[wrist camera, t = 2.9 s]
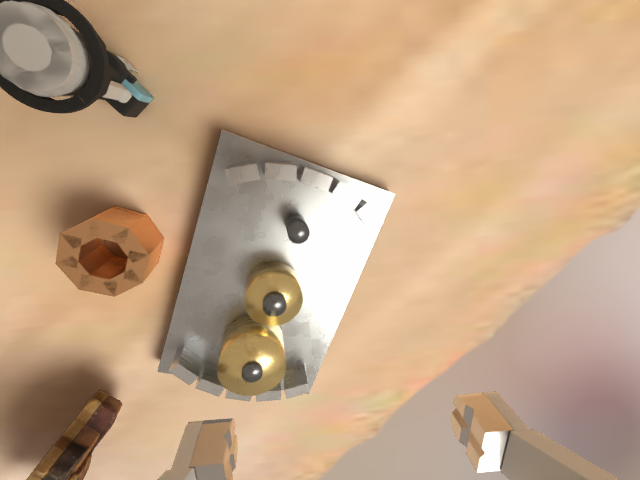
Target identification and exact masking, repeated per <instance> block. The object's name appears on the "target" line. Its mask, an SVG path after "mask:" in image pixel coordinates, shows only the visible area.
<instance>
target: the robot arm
mask: <svg viewBox="0 0 640 480" xmlns="http://www.w3.org/2000/svg"><path fill="white" fill-rule="evenodd" d="M454 405H455V406H456V409H455V410H454V411H453V412H452V418H451V420H452V426H453V430H454V433H455V435H456V437H457V439H458V440H459V442H460V443H462V444H463V445H465V446H466V447H467V448H466V454H467V456H468V458H469V459H470V461H471V463H472V465H473V466H474V468H475V470H476V472H489V471H499V470H501V473H503V474H504V475H505V476H506V477H507V478H508V479H510V480H618V479H617V478H616V477H615V476H613V475H611V474H609V473H608V472H606V471H604V470H602V469H601V468H599V467H597V466H596V465H594V464H592V463H591V462H589V461H587V460H585V459H584V458H582V457H580V456H579V455H577V454H575V453H573V452H572V451H570V450H568V449H567V448H565V447H563V446H562V445H560V444H558V443H556V442H555V441H553V440H551V439H549V438H548V437H546V436H544V435H543V434H541V433H539V432H537V431H536V430H534V429H528V428H527V427H526V425H525V424H524V423H523V422H522V421H521V419H520V418H519V417H518V416H517V415H516V413H515V412H514V411H513V410H512V409H511V407H510V406H509V405H508V404H507V403H506V402H505V400H504V399H503V398H502V397H501V396H500V394H499V393H497V392H496V391H493V392H484V393H474V394H465V395H457V396H456V397H455V398H454ZM234 430H235V422H234V419H233V418H232V419H219V420H205V421H195V422H189V423H188V424H187V426H186V428H185V431H184V434H183V436H182V439H181V442H180V445H179V448H178V451H177V454H176V457H175V459H174V462H173V465H172V468H171V470H168V471H165V472H164V473H163V475H162V476H161V477H160V478H159V479H158V480H233V475H232V471H233V470H234V469H235V468H236V460H237V436H236V435H235V434H234Z"/></svg>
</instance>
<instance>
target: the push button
mask: <svg viewBox="0 0 640 480" xmlns="http://www.w3.org/2000/svg"><path fill="white" fill-rule="evenodd" d="M57 14H58V15H62V16H65V17H66V18H67V19H68V20H69V21H71V22H72V23H73V25H74V26H75V27H76V28H77V29H78V31H79V32H78V31H76V30H75V29H73V28H71V27H70V26H69V24H68V23H67V22H66V21H65V20H63V19H62V18H61V17H59V16H58V15H57ZM130 70H133V71H135V72H137V73H138V71H137V70H136V69H135V68H134V67H133V66H132V65H131V64H130V63H129V62H128V61H127V60H126V59H124V58H122V57H120V56H118V55H117V56H115V55H114V54H112V53H111V52H109V51H107V50H106V46H105V44H104V42H103V41H102V39H101V38H100V37H99V35H98V34H97V33H96V31H95V30H94V28H93V27H92V25H91V24H90V23H89V21H88V20H87V19H86V18H85V17H84V16H83V15H82V14H81V13H80V12H79V11H78V10H77V9H75V8H74V7H73V6H72V5H70V4H69V3H67V2H66V1H64V0H0V87H1V88H2V89H3V90H4V91H6V92H7V93H8V94H9V95H11V96H12V97H13V98H15V99H16V100H18V101H20V102H21V103H23V104H25V105H27V106H30V107H32V108H34V109H38V110H41V111H45V112H52V113H72V112H76V111H80V110H82V109H84V108H86V107H88V106H90V105H91V104H92V103H93V102H95V101H96V100H98V99H102V100H106V101H107V102H108V103H109V104H110V105H111V106H113V107H114V108H115V109H116V110H117V111H118V112H119V113H120V114H122V115H123V116H128V117H137V116H138V115H139V114H140V113H141V112H142V111H143V109H144V108H145V107H146V106H147V105H148V104H149V103H150V102H151V101H152V100H153V99H154V97H153V96H152V95H151V94H150V93H149V92H148V91H146V90H145V89H144V88H143V87H142V86H141V85H140V84H139V83H138V82H137V79H136V78H135V77H134V76H133V75H132V74H131V73H130V72H129V71H130ZM59 96H71V98H68V99H65V100H54V99H52V98H50V97H59Z"/></svg>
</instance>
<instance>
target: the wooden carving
mask: <svg viewBox="0 0 640 480" xmlns="http://www.w3.org/2000/svg"><path fill="white" fill-rule="evenodd" d="M121 406H122V403H121V402H120V400H117V399H115V398H113V397H111V396H109V394H107V393H105V392H104V391H102V390H98V392H97V393H96V394H95V395H94V396H93V398H92V399H91V400H89V401H88V403H87V404H86V405H85V406H84V408H83V409H82V410H81V412H80V413H79V414H78V416H77V417H76V418H75V420H74V421H73V422H72V423H71V425H70V426H69V427H68V428H67V430H66V431H65V432H64V433H63V435H62V436H61V437H60V438H59V439H58V441H57V442H56V443H55V444H54V445H53V447H52V448H51V449H50V450H49V452H48V453H47V454H46V455H45V456H44V458H43V459H42V460H41V461H40V463H39V464H38V465H37V466H36V468H35V469H34V470H33V472H32V473H31V474H30V476H29V477H28V478H27V479H26V480H83V479H84V477H85V475H86V473H87V470H88V468H89V465H90V462H91V456H92V452H93V450H94V448H95V447H96V446H97V444H98V443H99V442H100V440H101V439H102V438H103V437H104V435H105V434H106V433H107V432H108V430H109V429H110V428H111V426H112V425H113V423H114V421H115V419H116V416H117V414H118V413H119V411H120V408H121Z"/></svg>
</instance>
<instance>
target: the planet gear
mask: <svg viewBox="0 0 640 480" xmlns="http://www.w3.org/2000/svg"><path fill="white" fill-rule="evenodd" d="M104 240H108V241H112V242H116V243H117V244H118V245H119V246H120V247H121V249H122V250H123V251H124V253H125V254H126V255H127V256H128V259H125V258H121V257H116V256H113V255H112V253H111V252H110V251H109V250H108V248H107V247H106V246H105V245H104ZM163 241H164V237H163V236H162V235H161V233H160V232H159V230H158V229H157V228H156V226H155V225H154V223H153V222H152V221H151V219H150V218H149V217H148V215H147V214H144V213H140V212H136V211H133V210H129V209H126V208H122V207H118V206H114V207H112V208H110V209H108V210H106V211H104V212H101V213H99V214H97V215H95V216H93V217H91V218H89V219H87V220H85V221H83V222H81V223H79V224H77V225H75V226H73V227H71V228H70V229H68V230H66V231H64V232H62V233H60V236H59V243H58V250H57V257H56V265H57V266H58V267H59V268H60V269H61V270H62V271H63V272H64V273H65V275H66V276H67V277H68V278H69V279H70V280H71V281H72V282H73V283H74V284H75V286H76V287H77V288H78V289H79V290H84V291H89V292H94V293H99V294H104V295H109V296H114V297H115V296H117V295H119V294H121V293H123V292H125V291H127V290H129V289H131V288H133V287H135V286H137V285H139V284H141V283H143V282H144V280H145V279H146V278H147V277H148V275H149V274H150V273H151V271H152V270H153V269H154V268H155V266H156V265H157V264H158V262H159V258H160V254H161V249H162V245H163Z"/></svg>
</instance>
